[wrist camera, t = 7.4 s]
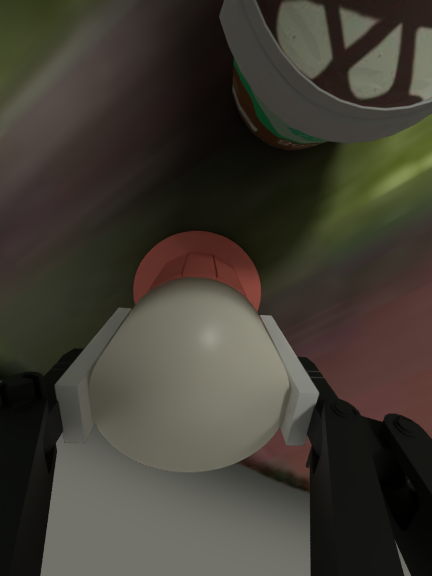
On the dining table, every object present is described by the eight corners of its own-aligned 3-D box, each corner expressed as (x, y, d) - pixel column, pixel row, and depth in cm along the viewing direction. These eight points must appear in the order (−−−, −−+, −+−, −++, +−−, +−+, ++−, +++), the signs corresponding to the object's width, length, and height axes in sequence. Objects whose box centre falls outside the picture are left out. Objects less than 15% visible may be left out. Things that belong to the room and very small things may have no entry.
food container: (237, 191, 18) (273, 179, 9) (212, 102, 16) (223, -35, 7) (393, 134, 18) (609, 54, 8) (386, 32, 16) (662, -227, 6)
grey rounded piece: (134, 261, 14) (76, 309, 8) (262, 269, 15) (308, 320, 8) (138, 369, 17) (97, 473, 10) (246, 372, 18) (272, 472, 11)
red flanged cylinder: (133, 225, 19) (96, 236, 12) (267, 235, 20) (299, 251, 13) (137, 343, 23) (110, 400, 16) (250, 348, 23) (268, 404, 17)
